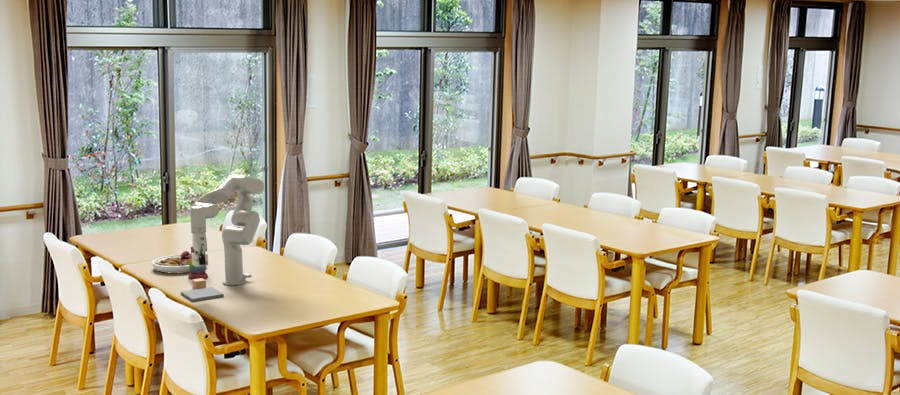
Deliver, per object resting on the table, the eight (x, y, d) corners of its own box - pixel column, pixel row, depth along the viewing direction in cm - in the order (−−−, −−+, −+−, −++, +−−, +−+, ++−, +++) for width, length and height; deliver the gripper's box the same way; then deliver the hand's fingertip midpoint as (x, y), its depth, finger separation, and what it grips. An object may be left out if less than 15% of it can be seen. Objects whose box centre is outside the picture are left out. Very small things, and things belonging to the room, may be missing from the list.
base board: (211, 289, 502) (211, 286, 502) (223, 296, 488) (223, 293, 488) (180, 294, 492) (180, 291, 492) (192, 301, 479) (191, 298, 478)
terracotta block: (202, 287, 507) (201, 278, 507) (205, 289, 503) (205, 280, 502) (192, 288, 504) (192, 279, 503) (196, 290, 500) (195, 281, 499)
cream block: (204, 262, 492) (203, 251, 491) (208, 265, 487) (207, 254, 486) (191, 264, 489) (191, 253, 488) (196, 266, 483) (195, 255, 482)
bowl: (197, 275, 533) (197, 261, 532) (145, 274, 533) (144, 261, 532) (211, 262, 562) (211, 250, 561) (162, 262, 563) (161, 249, 561)
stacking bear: (188, 279, 522) (186, 248, 519) (188, 275, 532) (186, 244, 529) (208, 278, 525) (206, 247, 522) (207, 273, 535) (206, 243, 532)
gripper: (211, 231, 480) (212, 265, 483) (200, 226, 494) (201, 259, 497) (197, 233, 475) (198, 267, 478) (186, 227, 490) (187, 260, 493)
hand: (200, 262), depth 488 cm, fingers closed on cream block, 6 cm apart
